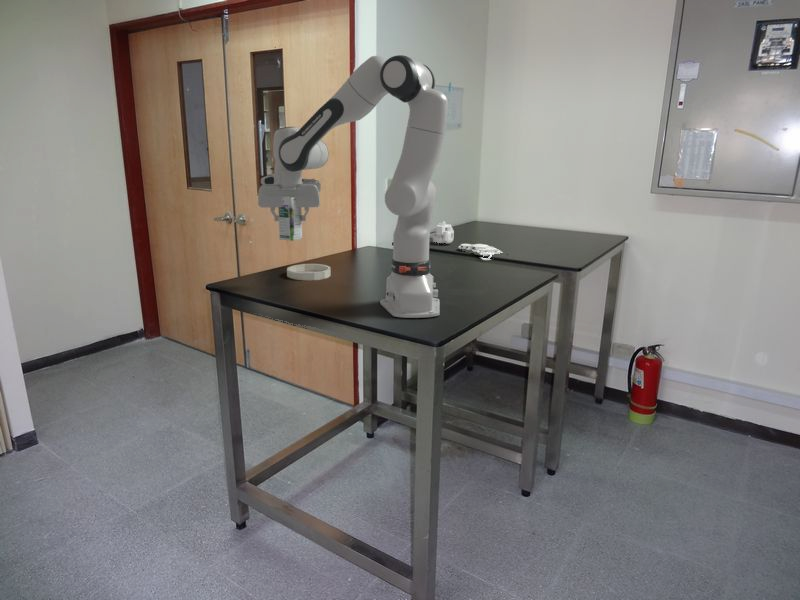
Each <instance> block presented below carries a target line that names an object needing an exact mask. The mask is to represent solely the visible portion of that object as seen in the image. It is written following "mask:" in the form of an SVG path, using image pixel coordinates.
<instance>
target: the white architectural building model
mask: <svg viewBox="0 0 800 600" xmlns="http://www.w3.org/2000/svg"><path fill="white" fill-rule="evenodd" d="M461 246H463V247H461ZM467 247H468V248H467ZM474 247H475V248H474ZM472 248H473V249H472ZM458 249H460V250H461V249H466V250H472V251H473V252H477V253H479V254H480V255H483V257H484V256H488V255H490V256H489V257H488V258H483V257H479V258H480V259H481V260H482V261H490V260H492V259H490V258H491V257H492V255H494V254H500V253H503V251H501V250H500V249H498V248H497V247H494V246H492V245H491V246H490V245H488V244H486V243H485V244H484V243H474V244H472V243H461V244H460V245H459V246H458Z"/></svg>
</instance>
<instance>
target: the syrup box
mask: <svg viewBox="0 0 800 600" xmlns="http://www.w3.org/2000/svg"><path fill="white" fill-rule="evenodd" d="M277 209H278V212H277V213H278V215H279V221H278V233H279V240H281V241H291V242H294V241H297V240H301V239H303V221H302V220H301V219H302V218H301V216H302V215H303V213H302V207H296V198H295V196H290V197H283V198H282V207H277Z"/></svg>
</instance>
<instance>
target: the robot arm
mask: <svg viewBox="0 0 800 600" xmlns="http://www.w3.org/2000/svg"><path fill="white" fill-rule="evenodd" d="M435 86H436V80H435V76H434V74H433V71H432V70H431V68H429V67H428V66H427V65H425V64H423V63H422V62H421V61H419V60H417V59H415V58H413V57H409V56H407V55H393V56H390V57H389V58H388V59H386V58H384V57H382V56H380V55H379V56H378V55H373V56H370V57H369V58H367V59H366V60H365V61H364V62H362V63H361V64H360V65H359V66H358V67H357V68H356V69H355V70H354V71H353V72H352V73H351V74H350V76H349V77H348V78H347V80H346V81H345V82H344V83H343V84H342V85H341V87H340V88H339V89H337V91H336V92H335V93H334V94H333V95H332V96H331V97H330V98H329V99H328V100H327V101H326V102H325V103H324V104H323V105H322V106H321V107H320V108H319V109H317V110H316V112H314V114H312V116H311V117H310V118H309V119H308V120H307V121H306V122H305V123H304V124H303V126H302V127H300V128H298V127H295V126H285V127H280V128H278V129H276V130H275V131H274V133H273V141H272V143H273V145H272V147H273V151H272V153H273V158H274V167H273V168H274V170H273V171H274V173H272V174H269V175H266V176H263V177H261V179H260V184H261V186H260V187H259V189H258V194H257V203H258V206H259V207H260V208H269V209H270V212H271V214H272V215H273V217H274V219H273V220H274V222H279V214H277V213H276V212H275V211H276V208H278V207H282V198H283V197H290V196H295V198H296V207H301V208H304V211H305V212H304V214H302V216H301V218H302V219H301V220H302V222H307V215H308V213H309V211H310V208H319V207H320V206H321V199H320V192H321V190H322V187H321V186H322V183H321V182H320V180H317V179H316V178H303V171H305V170H306V171H307V170H315V169H321V168H322V167H324V166H325V165H326V164H327V162H328V161H329V149H328V146H327V144H326V143H325V142H324V141H323V140H322V139H324V138H325V136H326V135H327V134H328V133H329V132H330V131H331V130H333V129H334V128H336V127H338V126H341V125H345V124H346V123H352V122H357V121H361V120H362V119H363V118H365V117H366V116H367V115H369V113H371V112H372V111H373V110H374V108H376V106H377V105H378V104H379V103H380V101H381V100H382V99H384V97H385V96H386V95H388V94H389V95H390V96H392V97H394V98H396V99H398V100H399V101H401V102H402V103H407V105H408V107H409V115H408V121H407V125H406V128H405V130H406V131H405V135H404V139H403V145H402V151H401V154H400V158H399V160H398V163H397V164H396V168H395V170H394V173H393V176H392V179H391V181H390V184H389V186H388V187H387V188H386V191H385V193H384V203H385V205H386V208H387V209H388V210H389V211H390V212H391V213H392V214H393V215H396V216H397V222H396V226H395V229H394V231H393V239H392V241H393V243H392V246H393V248H392V249H393V250H392V251H393V252H392V253H393V254H392V259H391V274H389V276H387V277H386V288H385V291H386V292H385V298H384V299H381V300H380V305H381V306H382V307H383V308H384V309H385V310H386V311H387V312H388V313H389V314H390V315H392V316H393V317H396V318H405V319H407V318H409V319H410V318H411V319H412V318H413V319H419V318H433V317H438V316H440V309H441V307H440V304H441V303H440V301H441V300H440V299H439V298H438V297H439V289H434V288H436V287H437V283H436V282H434V276H433V275H432V274H431V260H430V234H431V227H432V221H433V219H434V218H433V217H434V212H435V211H434V210H435V204H436V203H435V202H436V200H437V196H438V192H437V191H438V190H437V188H436V185H435V184H434V183H433V181H431V179H432V176H433V175H434V171H435V170H436V167H437V165H438V163H439V160H440V156H441V152H442V147H443V143H444V137H445V134H446V127H447V121H448V112H449V111H448V110H449V109H448V108H449V102H448V101H449V99H448V97H447V96H446V95H445V94H444V93H443V92H442V91H440V90H438V89H435Z"/></svg>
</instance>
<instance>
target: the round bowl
mask: <svg viewBox="0 0 800 600" xmlns="http://www.w3.org/2000/svg"><path fill="white" fill-rule="evenodd" d="M286 268H287V269H286V276H287V278H289V279H291V280H297V281H320V280H325V279H328V278H330V277H331V276H332V275H331V274H332V273H331V272H332V271H331V266H329V265H327V264H321V263H301V264H295V265H290V266H288V267H286Z"/></svg>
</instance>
